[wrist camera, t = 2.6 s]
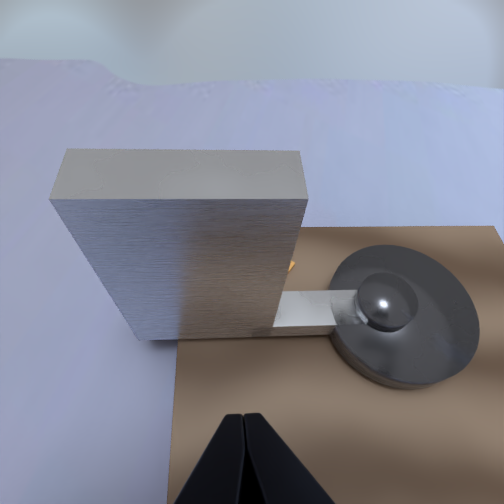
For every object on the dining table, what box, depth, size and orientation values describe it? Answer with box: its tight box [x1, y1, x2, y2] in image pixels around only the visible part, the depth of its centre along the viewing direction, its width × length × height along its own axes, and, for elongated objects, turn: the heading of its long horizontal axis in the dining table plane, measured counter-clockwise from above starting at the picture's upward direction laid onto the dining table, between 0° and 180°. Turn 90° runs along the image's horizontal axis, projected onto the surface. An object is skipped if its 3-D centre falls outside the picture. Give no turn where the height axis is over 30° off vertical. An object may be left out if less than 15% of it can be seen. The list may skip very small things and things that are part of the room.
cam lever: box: [49, 149, 480, 390], centre depth 15 cm, size 18×8×11 cm, turn 93°
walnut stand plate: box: [167, 226, 504, 504], centre depth 20 cm, size 18×22×2 cm
